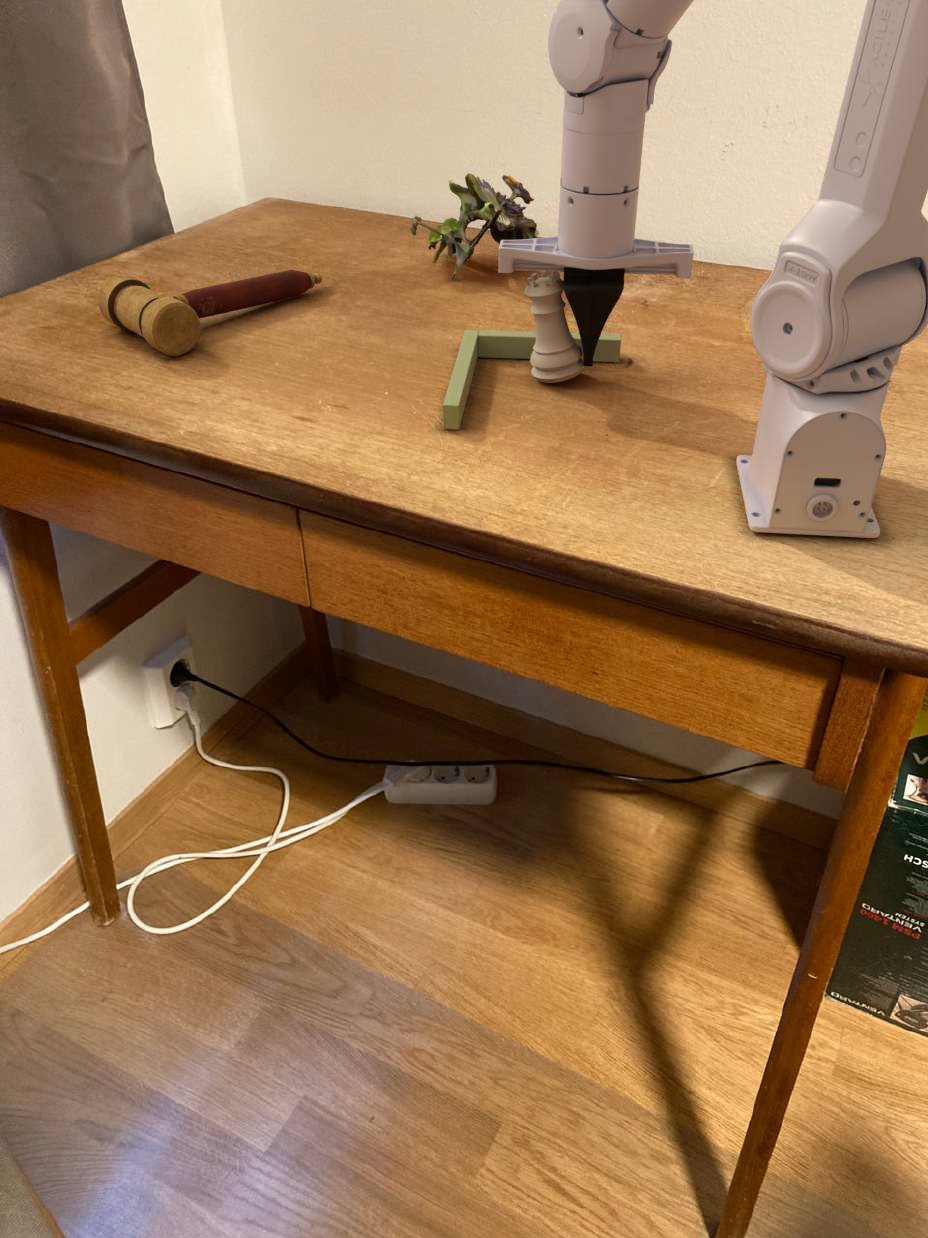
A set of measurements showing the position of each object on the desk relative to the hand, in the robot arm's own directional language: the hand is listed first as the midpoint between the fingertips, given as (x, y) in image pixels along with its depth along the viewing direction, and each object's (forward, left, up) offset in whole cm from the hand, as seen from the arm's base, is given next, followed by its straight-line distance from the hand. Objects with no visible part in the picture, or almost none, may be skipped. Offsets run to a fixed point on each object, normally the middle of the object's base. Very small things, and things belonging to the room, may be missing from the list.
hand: (587, 361), depth 81 cm
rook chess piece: (0, +2, -1) cm, 3 cm away
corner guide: (-3, +4, -2) cm, 5 cm away
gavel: (+11, +33, -2) cm, 35 cm away
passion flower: (+25, +11, -2) cm, 27 cm away
